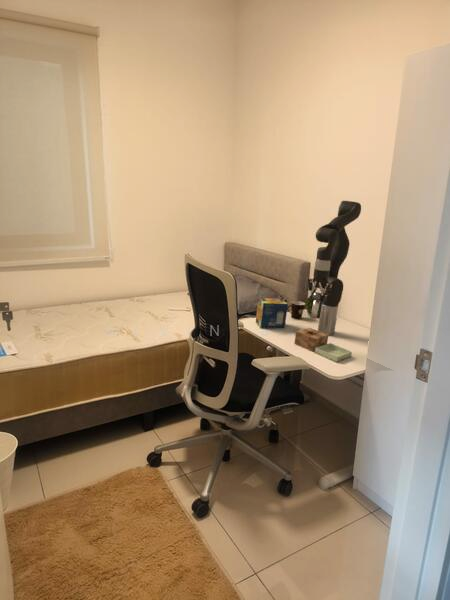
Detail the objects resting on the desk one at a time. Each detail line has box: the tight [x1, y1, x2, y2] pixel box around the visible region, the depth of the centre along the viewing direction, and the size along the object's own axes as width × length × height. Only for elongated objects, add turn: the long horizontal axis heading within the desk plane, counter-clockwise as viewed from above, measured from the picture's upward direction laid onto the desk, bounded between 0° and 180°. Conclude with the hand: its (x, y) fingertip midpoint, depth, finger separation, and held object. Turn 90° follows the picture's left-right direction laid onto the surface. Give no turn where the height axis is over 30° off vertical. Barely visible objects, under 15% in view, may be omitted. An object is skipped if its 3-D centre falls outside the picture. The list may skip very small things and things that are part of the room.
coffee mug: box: [287, 300, 306, 320], centre depth 250 cm, size 12×9×10 cm
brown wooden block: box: [294, 327, 329, 353], centre depth 205 cm, size 12×12×7 cm
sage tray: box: [314, 342, 353, 363], centre depth 196 cm, size 13×13×3 cm
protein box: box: [255, 297, 289, 329], centre depth 230 cm, size 10×15×16 cm
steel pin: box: [310, 291, 321, 319], centre depth 200 cm, size 5×5×13 cm
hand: (317, 300), depth 199 cm, fingers closed on steel pin, 5 cm apart
